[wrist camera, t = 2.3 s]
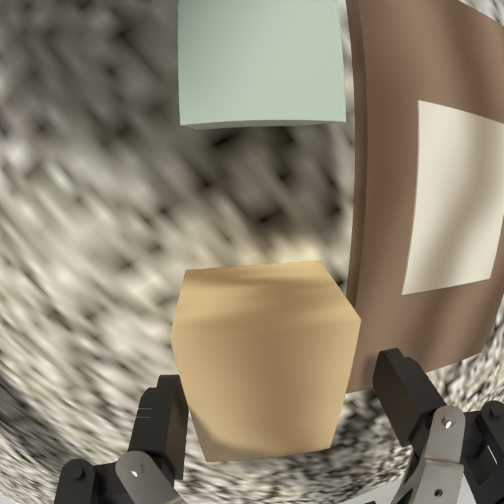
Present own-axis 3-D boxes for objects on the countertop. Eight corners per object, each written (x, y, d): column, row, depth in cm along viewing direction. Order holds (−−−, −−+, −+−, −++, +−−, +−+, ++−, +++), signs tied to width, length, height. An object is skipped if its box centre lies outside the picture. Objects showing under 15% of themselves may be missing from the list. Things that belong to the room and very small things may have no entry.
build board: (332, 381, 17) (338, 396, 15) (341, -28, 8) (351, -39, 7) (472, 343, 18) (481, 353, 16) (506, 38, 9) (519, 36, 8)
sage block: (197, 130, 11) (180, 125, 6) (194, 38, 10) (178, -17, 5) (298, 126, 11) (345, 121, 7) (293, 36, 10) (334, -14, 5)
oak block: (207, 391, 16) (206, 461, 12) (186, 268, 13) (169, 337, 9) (308, 381, 17) (329, 448, 12) (318, 258, 14) (361, 319, 9)
